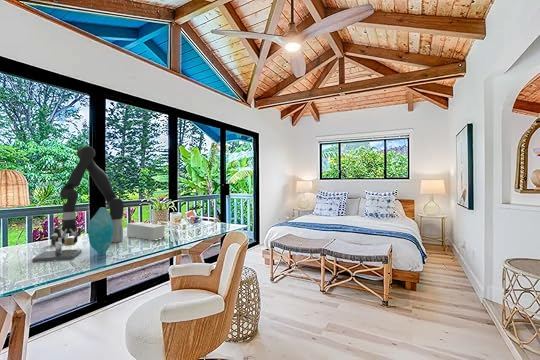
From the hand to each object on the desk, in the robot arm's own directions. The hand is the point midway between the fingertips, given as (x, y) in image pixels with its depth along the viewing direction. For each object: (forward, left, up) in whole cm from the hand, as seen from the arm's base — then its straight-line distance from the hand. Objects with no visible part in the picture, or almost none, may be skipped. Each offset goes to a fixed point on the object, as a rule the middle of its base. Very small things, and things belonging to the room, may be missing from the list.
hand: (69, 243), depth 189 cm
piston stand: (+1, +18, -4) cm, 18 cm away
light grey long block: (-45, -27, -5) cm, 52 cm away
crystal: (-22, +19, -5) cm, 30 cm away
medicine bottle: (+12, -18, -5) cm, 22 cm away
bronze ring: (0, 0, -1) cm, 1 cm away
